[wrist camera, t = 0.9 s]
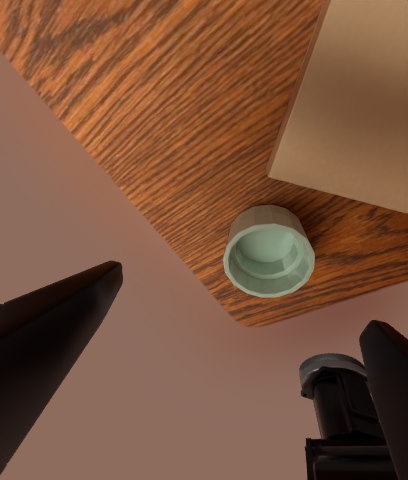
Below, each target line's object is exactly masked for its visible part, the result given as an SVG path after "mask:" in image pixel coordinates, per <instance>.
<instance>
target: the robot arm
mask: <svg viewBox="0 0 408 480" xmlns="http://www.w3.org/2000/svg"><path fill="white" fill-rule="evenodd" d="M122 282H123V274H122V265H121V263H119V262H116V261H108V262H105V263H103V264H100V265H98V266H95V267H93V268H90V269H88V270H85V271H83V272H80V273H78V274H75V275H73V276H70V277H68V278H65V279H63V280H60V281H58V282H55V283H53V284H50V285H48V286H45V287H43V288H40V289H38V290H35V291H33V292H30V293H28V294H25V295H23V296H20V297H18V298H15V299H13V300H10V301H8V302H5V303H4V304H0V475H1V473H2V472H3V470H4V469H5V467H6V466H7V463H8V462H9V461H10V459H11V458H12V456H13V455H14V453H15V452H16V450H17V449H18V447H19V446H20V444H21V443H22V441H23V440H24V438H25V437H26V435H27V433H28V432H29V431H30V429H31V428H32V426H33V425H34V423H35V422H36V420H37V419H38V417H39V416H40V414H41V413H42V411H43V410H44V408H45V407H46V405H47V404H48V402H49V401H50V399H51V398H52V396H53V395H54V393H55V392H56V390H57V389H58V387H59V386H60V384H61V383H62V381H63V380H64V379H65V377H66V376H67V374H68V373H69V371H70V370H71V368H72V366H73V365H74V364H75V362H76V361H77V359H78V357H79V356H80V355H81V353H82V352H83V350H84V348H85V347H86V345H87V344H88V343H89V341H90V339H91V338H92V336H93V335H94V334H95V332H96V331H97V329H98V328H99V326H100V324H101V323H102V321H103V319H104V318H105V316H106V314H107V312H108V310H109V309H110V307H111V305H112V303H113V301H114V299H115V297H116V295H117V293H118V291H119V289H120V287H121V285H122ZM359 342H360V347H361V352H362V356H363V361H364V366H365V371H366V375H367V378H363V377H360V376H357V375H353V374H350V373H347V372H343V371H340V370H337V369H333V368H330V367H327V366H322V367H320V368H319V370H318V371H317V372H316V373H315V374H314V376H313V377H312V378H311V379H310V380H309V382H308V383H307V384H306V385H305V386H304V388H303V389H302V390H301V396H303V397H305V398H309V399H312V400H313V402H314V406H315V411H316V416H317V420H318V426H319V430H320V435H321V439H311V438H306V446H305V451H306V463H307V480H408V339H407V338H405V337H404V336H403V335H401V334H400V333H399V332H398V331H396V330H395V329H394V328H393V327H391V326H390V325H389V324H388V323H385V322H382V321H377V320H372V321H370V322H369V324H368V325H367V326H366V328H365V329H364V331H363V332H362V333H361V335H360V339H359ZM370 392H371V395H372V397H371V395H370ZM372 398H373V399H372ZM373 401H374V402H373Z"/></svg>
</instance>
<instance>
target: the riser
mask: <svg viewBox="0 0 408 480" xmlns="http://www.w3.org/2000/svg"><path fill="white" fill-rule="evenodd" d="M266 170H267V174H268V177H269V178H273V179H277V180H281V181H284V182H288V183H292V184H296V185H300V186H304V187H307V188H311V189H315V190H319V191H323V192H326V193H330V194H334V195H338V196H342V197H346V198H349V199H353V200H357V201H361V202H365V203H369V204H372V205H376V206H380V207H384V208H388V209H391V210H395V211H399V212H403V213H407V214H408V0H325V1H324V2H323V4H322V7H321V10H320V13H319V16H318V19H317V22H316V24H315V27H314V30H313V33H312V36H311V39H310V42H309V45H308V48H307V51H306V53H305V56H304V59H303V62H302V65H301V68H300V71H299V74H298V77H297V80H296V83H295V85H294V88H293V91H292V94H291V97H290V100H289V103H288V106H287V109H286V112H285V114H284V117H283V120H282V123H281V126H280V129H279V132H278V135H277V138H276V141H275V143H274V146H273V149H272V152H271V155H270V158H269V161H268V164H267V167H266Z"/></svg>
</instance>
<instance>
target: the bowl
mask: <svg viewBox="0 0 408 480" xmlns="http://www.w3.org/2000/svg"><path fill="white" fill-rule="evenodd" d="M223 262H224V268H225V273H226V274H227V276H228V277H229V279H230V280H231V282H232V283H233V284H234V285H235V286H236V287H238V288H239V289H241V290H242V291H244V292H245V293H248V294H251V295H255V296H258V297H280V296H283V295H286V294H289V293H293V292H294V291H296V290H297V289H298V288H300V287H301V286H302V285H304V284H305V283H306V282H307V281H308V279H309V277H310V276H311V274H312V272H313V270H314V264H315V253H314V251H313V248H312V246H311V244H310V242H309V239H308V237H307V235H306V233H305V230H304V228H303V226H302V224H301V222H300V220H299V218H298V217H297V216H295V215H294V214H293V213H292V212H290V211H289V210H288V209H286V208H283V207H279V206H275V205H260V206H253V207H251V208H250V209H248V210H246V211H244V212H242V213H240V214H239V215H238V217H237V218H236V219H235V220H234V221H233V222H232V224H231V226H230V229H229V233H228V236H227V241H226V246H225V251H224V256H223Z"/></svg>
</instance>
